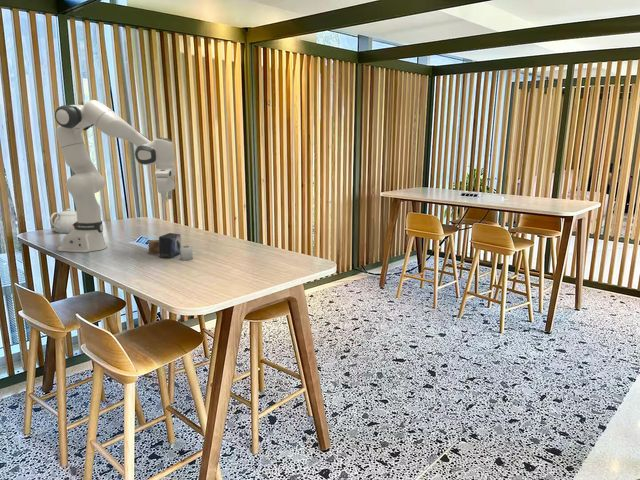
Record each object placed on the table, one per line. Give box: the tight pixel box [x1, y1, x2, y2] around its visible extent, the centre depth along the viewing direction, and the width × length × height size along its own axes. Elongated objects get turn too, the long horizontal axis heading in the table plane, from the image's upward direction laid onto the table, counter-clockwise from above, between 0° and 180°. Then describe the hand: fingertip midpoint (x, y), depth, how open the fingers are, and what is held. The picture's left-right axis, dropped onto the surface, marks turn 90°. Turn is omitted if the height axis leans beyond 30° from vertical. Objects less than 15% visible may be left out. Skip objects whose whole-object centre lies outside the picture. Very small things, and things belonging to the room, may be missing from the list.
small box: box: [158, 232, 182, 259], centre depth 228 cm, size 11×6×10 cm, turn 168°
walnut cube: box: [147, 239, 159, 255], centre depth 233 cm, size 6×6×6 cm
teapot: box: [49, 208, 77, 234], centre depth 275 cm, size 19×18×14 cm
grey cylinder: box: [179, 245, 193, 261], centre depth 223 cm, size 6×6×6 cm
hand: (167, 200), depth 224 cm, fingers open, 8 cm apart
